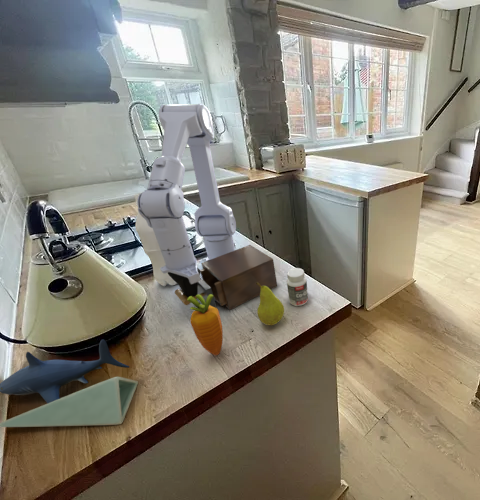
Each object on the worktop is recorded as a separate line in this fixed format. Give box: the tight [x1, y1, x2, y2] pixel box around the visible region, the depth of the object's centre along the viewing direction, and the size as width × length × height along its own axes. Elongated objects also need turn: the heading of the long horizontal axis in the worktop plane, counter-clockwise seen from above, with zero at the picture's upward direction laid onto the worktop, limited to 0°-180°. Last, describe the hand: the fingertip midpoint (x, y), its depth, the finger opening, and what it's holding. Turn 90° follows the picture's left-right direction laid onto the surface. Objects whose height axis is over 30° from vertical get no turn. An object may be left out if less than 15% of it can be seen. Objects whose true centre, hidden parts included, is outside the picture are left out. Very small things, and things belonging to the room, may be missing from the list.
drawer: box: [174, 268, 227, 309], centre depth 73 cm, size 17×10×7 cm, turn 136°
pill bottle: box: [286, 267, 309, 307], centre depth 72 cm, size 5×5×8 cm
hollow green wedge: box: [0, 376, 139, 428], centre depth 47 cm, size 8×6×18 cm
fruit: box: [256, 282, 285, 326], centre depth 65 cm, size 6×6×12 cm
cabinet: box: [201, 244, 278, 311], centre depth 77 cm, size 14×12×9 cm
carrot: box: [187, 294, 224, 357], centre depth 56 cm, size 5×5×15 cm
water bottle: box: [133, 192, 178, 287], centre depth 77 cm, size 7×7×25 cm
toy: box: [0, 338, 130, 404], centre depth 51 cm, size 10×22×10 cm, turn 96°
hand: (192, 296), depth 69 cm, fingers closed, pressing on drawer
